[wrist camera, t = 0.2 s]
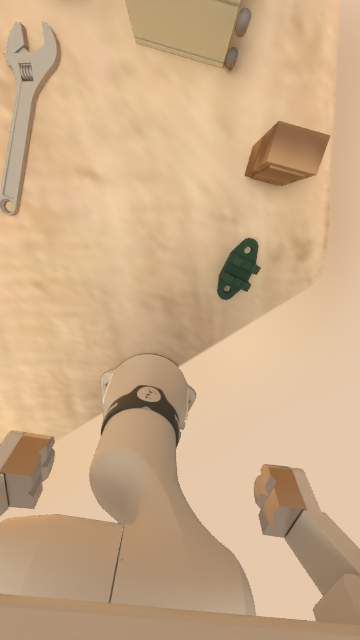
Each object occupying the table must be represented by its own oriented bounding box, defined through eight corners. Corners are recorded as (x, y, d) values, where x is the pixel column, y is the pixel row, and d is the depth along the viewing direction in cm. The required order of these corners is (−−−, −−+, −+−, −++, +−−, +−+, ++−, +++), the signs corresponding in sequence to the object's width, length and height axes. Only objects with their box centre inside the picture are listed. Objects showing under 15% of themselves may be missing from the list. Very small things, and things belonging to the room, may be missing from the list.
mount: (232, 302, 51) (237, 310, 46) (210, 291, 50) (213, 299, 45) (263, 244, 47) (273, 247, 43) (240, 233, 47) (246, 234, 42)
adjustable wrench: (19, 218, 46) (13, 218, 45) (-20, 200, 46) (-28, 199, 44) (66, 41, 38) (60, 33, 37) (19, 14, 38) (12, 5, 36)
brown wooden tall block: (281, 187, 44) (315, 177, 33) (244, 177, 44) (266, 163, 32) (290, 156, 43) (330, 135, 31) (252, 146, 42) (278, 121, 31)
